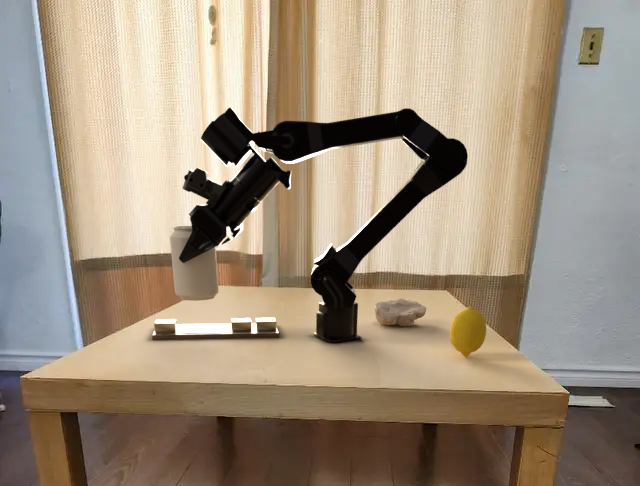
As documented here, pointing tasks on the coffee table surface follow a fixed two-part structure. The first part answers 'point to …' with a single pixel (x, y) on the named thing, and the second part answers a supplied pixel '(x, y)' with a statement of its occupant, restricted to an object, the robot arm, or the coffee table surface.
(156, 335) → the word board
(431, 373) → the coffee table surface
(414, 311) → the whitish grey lumpy stone
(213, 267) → the can
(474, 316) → the lemon
